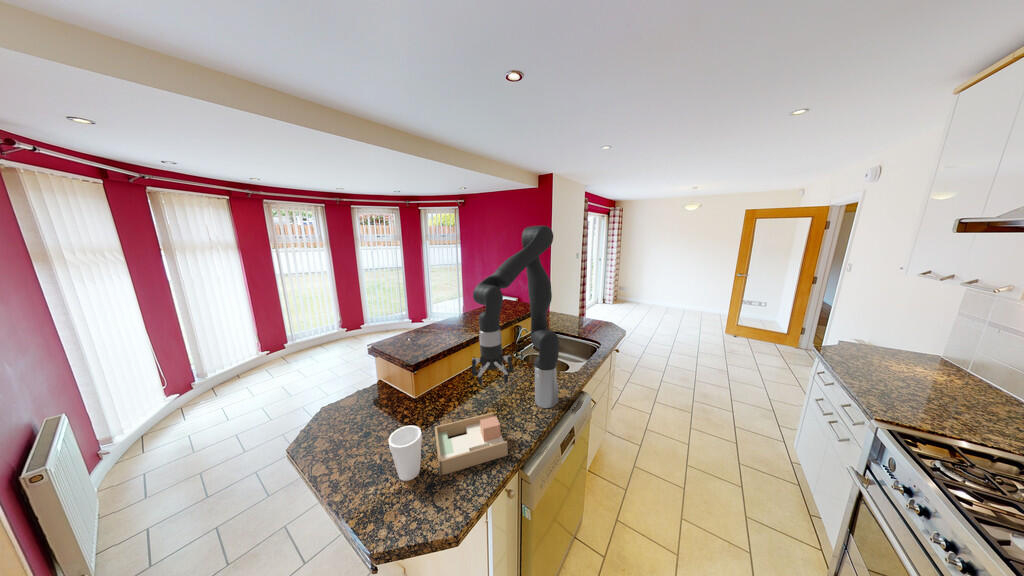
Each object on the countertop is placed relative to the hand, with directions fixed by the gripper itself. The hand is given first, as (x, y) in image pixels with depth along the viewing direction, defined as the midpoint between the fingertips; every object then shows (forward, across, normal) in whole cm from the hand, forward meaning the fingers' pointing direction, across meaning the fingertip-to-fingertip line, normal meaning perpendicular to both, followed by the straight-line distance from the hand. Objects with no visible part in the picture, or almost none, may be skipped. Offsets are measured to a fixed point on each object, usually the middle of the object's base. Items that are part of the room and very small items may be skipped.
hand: (493, 384), depth 100 cm
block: (+17, +2, +4) cm, 18 cm away
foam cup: (+20, +28, +14) cm, 37 cm away
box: (+20, +9, +6) cm, 23 cm away
